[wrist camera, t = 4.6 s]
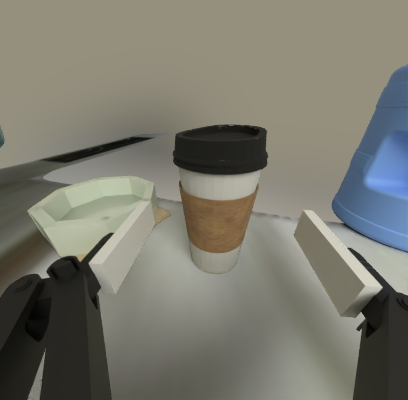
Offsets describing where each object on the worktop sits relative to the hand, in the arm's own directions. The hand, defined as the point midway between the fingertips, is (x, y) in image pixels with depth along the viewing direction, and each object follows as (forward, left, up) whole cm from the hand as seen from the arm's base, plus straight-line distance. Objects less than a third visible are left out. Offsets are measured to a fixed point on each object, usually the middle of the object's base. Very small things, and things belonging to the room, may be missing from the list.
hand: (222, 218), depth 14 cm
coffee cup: (-2, +2, -8) cm, 9 cm away
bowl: (-20, -2, -8) cm, 22 cm away
